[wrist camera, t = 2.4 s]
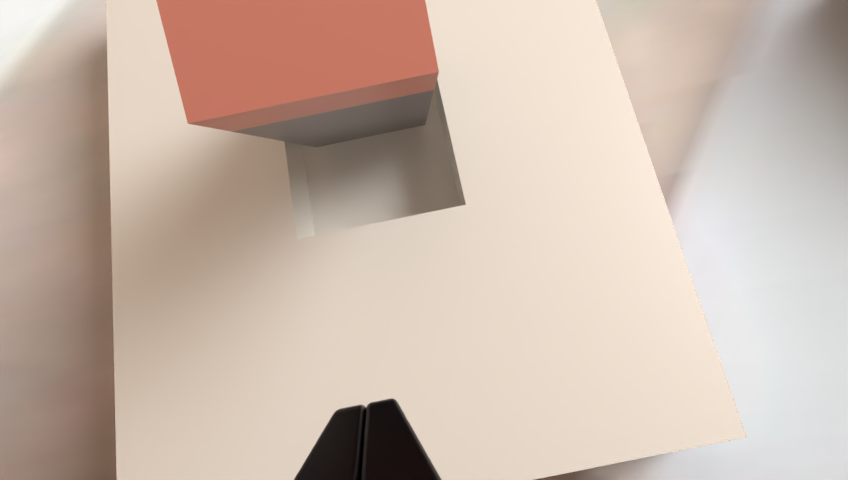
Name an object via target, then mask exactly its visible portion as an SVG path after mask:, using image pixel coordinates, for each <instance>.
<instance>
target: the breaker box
mask: <svg viewBox="0 0 848 480" xmlns="http://www.w3.org/2000/svg"><path fill="white" fill-rule="evenodd" d="M425 2H426V7H427V12H428V18H429V23H430V28H431V33H432V38H433V44H434V49H435V54H436V59H437V64H438V69H439V74H438V77H437V81H436V85H435V89H434V93H433V97H432V100H431V104H430V108H429V112H428V116H427V120H426V123H425V125H423V126H418V127H413V128H408V129H403V130H398V131H393V132H388V133H384V134H379V135H374V136H369V137H364V138H359V139H354V140H350V141H345V142H340V143H335V144H330V145H325V146H320V147H312V146H307V145H301V144H296V143H290V142H285V141H280V140H274V139H269V138H263V137H258V136H252V135H247V134H241V133H236V132H231V131H225V130H220V129H214V128H209V127H203V126H198V125H192V124H188V123H187V119H186V115H185V111H184V107H183V103H182V99H181V95H180V91H179V87H178V84H177V80H176V76H175V72H174V68H173V64H172V60H171V56H170V52H169V48H168V44H167V40H166V37H165V33H164V29H163V25H162V21H161V17H160V13H159V9H158V5H157V1H156V0H106V22H107V67H108V113H109V158H110V203H111V249H112V294H113V339H114V385H115V430H116V475H117V480H294V478H295V477H296V475H297V473H298V472H299V470H300V468H301V467H302V465H303V463H304V462H305V460H306V458H307V457H308V455H309V453H310V452H311V450H312V448H313V447H314V445H315V443H316V442H317V440H318V438H319V437H320V435H321V433H322V432H323V430H324V428H325V427H326V425H327V423H328V422H329V420H330V418H331V417H332V415H333V413H334V412H335V411H336V410H338V409H341V408H345V407H350V406H355V405H364V406H365V407H367V405H368V404H369V403H371V402H375V401H380V400H385V399H390V398H393V399H395V400H396V401H397V402H398V404H399V405H400V407H401V409H402V411H403V412H404V414H405V416H406V418H407V419H408V421H409V423H410V425H411V426H412V428H413V430H414V432H415V434H416V435H417V437H418V439H419V441H420V442H421V444H422V446H423V448H424V449H425V451H426V453H427V455H428V457H429V458H430V460H431V462H432V464H433V465H434V467H435V469H436V471H437V472H438V474H439V476H440V478H441V480H535V479H540V478H545V477H550V476H555V475H560V474H565V473H570V472H575V471H580V470H585V469H590V468H595V467H600V466H605V465H610V464H615V463H620V462H625V461H630V460H635V459H640V458H645V457H650V456H655V455H661V454H666V453H671V452H676V451H681V450H686V449H691V448H696V447H701V446H706V445H711V444H716V443H721V442H726V441H731V440H736V439H741V438H746V434H745V431H744V428H743V426H742V423H741V420H740V417H739V414H738V411H737V408H736V405H735V402H734V399H733V397H732V394H731V391H730V388H729V385H728V382H727V379H726V376H725V373H724V371H723V368H722V365H721V362H720V359H719V356H718V353H717V350H716V347H715V344H714V342H713V339H712V336H711V333H710V330H709V327H708V324H707V321H706V318H705V315H704V313H703V310H702V307H701V304H700V301H699V298H698V295H697V292H696V289H695V286H694V284H693V281H692V278H691V275H690V272H689V269H688V266H687V263H686V260H685V257H684V255H683V252H682V249H681V246H680V243H679V240H678V237H677V234H676V231H675V228H674V226H673V223H672V220H671V217H670V214H669V211H668V208H667V205H666V202H665V200H664V197H663V194H662V191H661V188H660V185H659V182H658V179H657V176H656V173H655V171H654V168H653V165H652V162H651V159H650V156H649V153H648V150H647V147H646V144H645V142H644V139H643V136H642V133H641V130H640V127H639V124H638V121H637V118H636V115H635V113H634V110H633V107H632V104H631V101H630V98H629V95H628V92H627V89H626V86H625V84H624V81H623V78H622V75H621V72H620V69H619V66H618V63H617V60H616V58H615V55H614V52H613V49H612V46H611V43H610V40H609V37H608V34H607V31H606V29H605V26H604V23H603V20H602V17H601V14H600V11H599V8H598V5H597V2H596V0H425Z"/></svg>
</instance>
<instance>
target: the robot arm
mask: <svg viewBox="0 0 848 480" xmlns="http://www.w3.org/2000/svg"><path fill="white" fill-rule="evenodd" d="M294 480H441V478H440V476H439V474H438V472H437V471H436V469H435V467H434V465H433V464H432V462H431V460H430V458H429V457H428V455H427V453H426V451H425V449H424V448H423V446H422V444H421V442H420V441H419V439H418V437H417V435H416V434H415V432H414V430H413V428H412V426H411V425H410V423H409V421H408V419H407V418H406V416H405V414H404V412H403V411H402V409H401V407H400V405H399V404H398V402H397V401H396V400H395V399H393V398H390V399H385V400H380V401H375V402H371V403H369V404H368V405H367V407H365V406H364V405H355V406H350V407H345V408H341V409H338V410H336V411H335V412H334V413H333V415H332V417H331V418H330V420H329V422H328V423H327V425H326V427H325V428H324V430H323V432H322V433H321V435H320V437H319V438H318V440H317V442H316V443H315V445H314V447H313V448H312V450H311V452H310V453H309V455H308V457H307V458H306V460H305V462H304V463H303V465H302V467H301V468H300V470H299V472H298V473H297V475H296V477H295V478H294Z"/></svg>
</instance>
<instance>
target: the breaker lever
mask: <svg viewBox="0 0 848 480" xmlns="http://www.w3.org/2000/svg"><path fill="white" fill-rule="evenodd" d="M156 1H157V5H158V9H159V13H160V17H161V21H162V25H163V29H164V33H165V37H166V40H167V44H168V48H169V52H170V56H171V60H172V64H173V68H174V72H175V76H176V80H177V84H178V87H179V91H180V95H181V99H182V103H183V107H184V111H185V115H186V119H187V123H188V124H192V125H198V126H203V127H209V128H214V129H220V130H225V131H231V132H236V133H241V134H247V135H252V136H258V137H263V138H269V139H274V140H280V141H285V142H290V143H296V144H301V145H307V146H312V147H320V146H325V145H330V144H335V143H340V142H345V141H350V140H354V139H359V138H364V137H369V136H374V135H379V134H384V133H388V132H393V131H398V130H403V129H408V128H413V127H418V126H423V125H425V123H426V120H427V116H428V112H429V108H430V104H431V100H432V97H433V93H434V89H435V85H436V81H437V77H438V74H439V69H438V64H437V59H436V54H435V49H434V44H433V38H432V33H431V28H430V23H429V18H428V12H427V7H426V2H425V0H156Z"/></svg>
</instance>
